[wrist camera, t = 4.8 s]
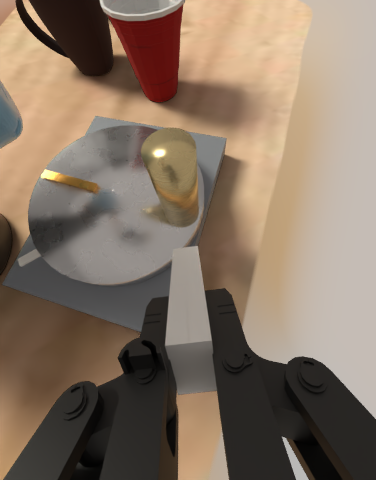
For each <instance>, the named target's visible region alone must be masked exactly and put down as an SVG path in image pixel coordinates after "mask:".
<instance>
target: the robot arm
mask: <svg viewBox="0 0 376 480" xmlns="http://www.w3.org/2000/svg"><path fill="white" fill-rule="evenodd" d="M22 128H23V123H22V118H21V115H20V113H19V111H18V109H17V107H16V105H15V103H14V101H13V100H12V98H11V96H10V95H9V93H8V92H7V90H6V89H5V87H4V85H3V84H2V82H1V81H0V149H1V148H2V147H4V146H6V145H7V144H9V143H11V142H12V141H14V140H15V139H17V138H18V137H19V136H20V134H21V132H22ZM11 244H12V236H11V230H10V227H9V224H8V222H7V221H6V219H5V218H4V217H3V216H2V215H1V214H0V274H1V273H2V271H3V269H4V267H5V265H6V263H7V260H8V258H9V255H10V251H11ZM118 360H119V362H120V364H121V367H122V369H123V371H124V373H123V374H122V375H121V376H119V377H117V378H116V379H114V380H111V381H109V382H107V383H105V384H102V385H100V386H98V387H96V385H95V384H94V383H92V382H90V381H85V382H80V383H77V384H75V385H73V386H71V387H70V388H69V389H67V390H66V391H65V392H64V393H63V394H62V395H61V396H60V397H59V399H58V400H57V401H56V402H55V404H54V405H53V407H52V408H51V410H50V411H49V413H48V414H47V416H46V417H45V419H44V420H43V422H42V423H41V425H40V426H39V428H38V429H37V430H36V432H35V433H34V435H33V436H32V438H31V439H30V441H29V442H28V444H27V445H26V447H25V448H24V450H23V451H22V453H21V454H20V456H19V457H18V459H17V460H16V461H15V463H14V464H13V466H12V467H11V469H10V470H9V472H8V473H7V475H6V476H5V478H4V479H3V480H178V408H177V404H176V392H178V395H181V394H190V393H200V392H209V391H217V395H218V402H219V410H220V418H221V424H222V432H223V439H224V446H225V454H226V461H227V468H228V475H229V480H296V478H295V475H294V472H293V469H292V467H291V463H290V460H289V457H288V454H287V451H286V448H285V445H284V442H283V439H282V437H285V438H287V441H288V442H289V444H290V446H291V448H292V450H293V451H294V453H295V455H296V457H297V459H298V461H299V462H300V464H301V466H302V468H303V470H304V471H305V473H306V475H307V477H308V479H309V480H376V419H375V418H374V417H373V416H372V415H371V414H370V413H369V411H368V410H367V409H366V408H365V407H364V406H363V405H362V404H361V403H360V402H359V401H358V400H357V398H355V396H354V395H353V394H352V393H351V392H350V391H349V390H348V389H347V388H346V386H344V384H343V383H342V382H341V381H340V380H339V379H338V378H337V377H336V376H335V375H334V373H333V372H332V371H331V370H329V369H328V368H327V367H326V366H325V365H324V364H323V363H321V362H319V361H317V360H315V359H313V358H308V357H295V358H293V359H292V360H290V361H289V362H288V364H282V363H278V362H273V361H269V360H266V359H263V358H261V357H259V356H258V355H256V354H255V353H254V352H253V351H252V350H251V349H250V348H249V346H248V344H247V342H246V339H245V336H244V332H243V329H242V326H241V323H240V320H239V317H238V314H237V311H236V308H235V305H234V301H233V298H232V295H231V294H230V293H229V292H228V291H227V290H226V289H225V288H224V289H216V290H208V291H204V285H203V278H202V271H201V264H200V258H199V251H198V246H192V247H185V248H177V249H173V257H172V269H171V281H170V293H169V296H165V297H157V298H152V299H151V301H150V302H149V304H148V305H147V307H146V311H145V317H144V320H143V325H142V330H141V334H140V338H137V339H134V340H133V341H131V342H129V343H128V344H127V345H126V346H125V347H124V348H123V349H122V350H121V352H120V354H119V356H118Z"/></svg>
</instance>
